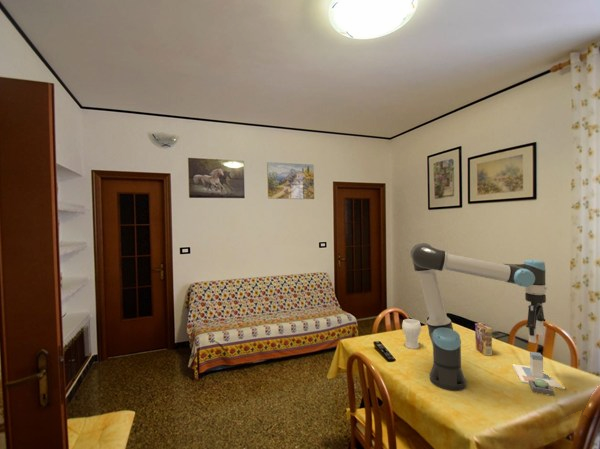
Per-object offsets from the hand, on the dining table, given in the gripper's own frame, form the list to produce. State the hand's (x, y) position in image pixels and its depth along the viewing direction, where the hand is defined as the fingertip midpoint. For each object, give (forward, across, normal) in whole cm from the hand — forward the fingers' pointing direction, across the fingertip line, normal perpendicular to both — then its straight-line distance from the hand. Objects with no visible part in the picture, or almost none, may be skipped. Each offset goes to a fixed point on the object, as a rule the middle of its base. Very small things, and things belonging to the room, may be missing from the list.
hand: (536, 338), depth 137 cm
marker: (+18, +3, +1) cm, 19 cm away
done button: (+18, -9, -3) cm, 21 cm away
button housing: (+19, -9, -3) cm, 22 cm away
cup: (+20, -8, +58) cm, 62 cm away
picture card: (+19, +3, +1) cm, 19 cm away
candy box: (+20, +14, +27) cm, 36 cm away
